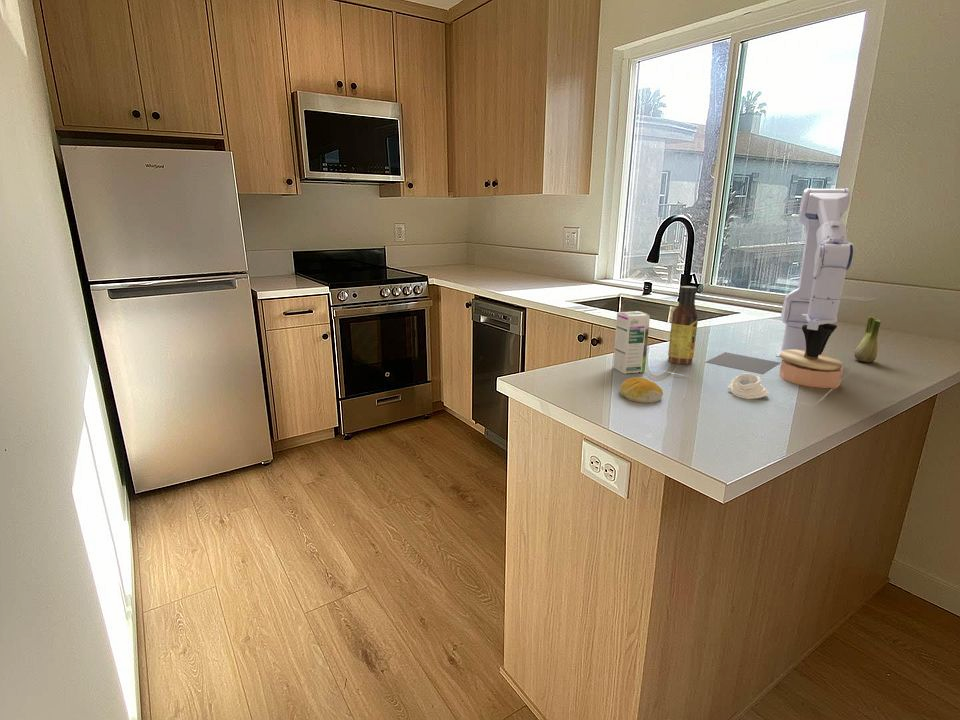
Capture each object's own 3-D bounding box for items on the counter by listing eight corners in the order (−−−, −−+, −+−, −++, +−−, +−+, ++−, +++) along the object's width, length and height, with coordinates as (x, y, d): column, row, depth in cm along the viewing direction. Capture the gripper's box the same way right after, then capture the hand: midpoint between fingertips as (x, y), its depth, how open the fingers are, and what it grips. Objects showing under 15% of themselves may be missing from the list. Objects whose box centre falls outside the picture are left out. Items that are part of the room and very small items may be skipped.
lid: (788, 349, 131) (792, 332, 130) (846, 362, 123) (852, 345, 122) (772, 359, 123) (777, 341, 121) (834, 374, 115) (840, 355, 113)
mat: (725, 353, 146) (725, 352, 146) (780, 364, 137) (780, 362, 137) (704, 363, 137) (705, 361, 136) (762, 375, 127) (762, 373, 127)
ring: (788, 369, 132) (791, 354, 131) (844, 380, 124) (847, 364, 123) (773, 380, 124) (776, 364, 123) (832, 392, 116) (836, 375, 115)
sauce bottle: (694, 366, 134) (704, 289, 128) (668, 365, 135) (678, 288, 129) (690, 359, 140) (699, 285, 134) (665, 358, 141) (674, 284, 135)
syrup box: (624, 374, 127) (629, 315, 123) (612, 367, 132) (617, 310, 128) (645, 372, 128) (651, 314, 124) (632, 365, 134) (637, 310, 130)
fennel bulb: (873, 365, 137) (883, 320, 134) (850, 361, 140) (860, 317, 137) (876, 360, 141) (887, 317, 138) (855, 357, 144) (864, 314, 141)
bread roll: (645, 388, 118) (647, 371, 116) (668, 402, 109) (670, 384, 108) (611, 390, 116) (613, 373, 115) (632, 405, 107) (634, 387, 106)
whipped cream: (770, 400, 114) (777, 378, 113) (760, 404, 109) (766, 382, 108) (733, 388, 119) (739, 368, 118) (722, 392, 115) (727, 371, 114)
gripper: (813, 292, 126) (803, 346, 130) (796, 298, 116) (785, 357, 120) (848, 295, 121) (836, 352, 125) (833, 303, 111) (821, 364, 115)
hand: (813, 355), depth 122 cm, fingers closed on lid, 3 cm apart
